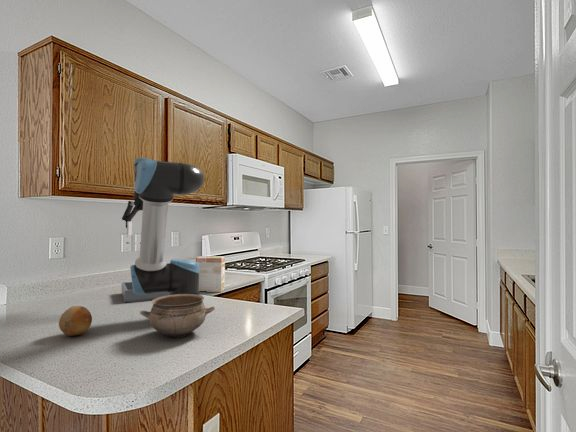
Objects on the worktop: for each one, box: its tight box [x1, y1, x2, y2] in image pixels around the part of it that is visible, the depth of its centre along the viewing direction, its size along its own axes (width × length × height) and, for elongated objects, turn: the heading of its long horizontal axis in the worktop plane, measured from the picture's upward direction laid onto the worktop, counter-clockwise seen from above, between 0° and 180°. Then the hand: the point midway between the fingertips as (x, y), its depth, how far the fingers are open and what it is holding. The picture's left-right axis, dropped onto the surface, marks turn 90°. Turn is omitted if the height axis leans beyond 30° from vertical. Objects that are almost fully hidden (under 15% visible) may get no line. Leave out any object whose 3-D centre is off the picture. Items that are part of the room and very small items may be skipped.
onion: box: [58, 305, 93, 337], centre depth 117 cm, size 10×10×10 cm
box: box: [121, 281, 170, 304], centre depth 180 cm, size 24×24×6 cm
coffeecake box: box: [195, 255, 226, 293], centre depth 193 cm, size 15×7×20 cm, turn 84°
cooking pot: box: [139, 294, 215, 338], centre depth 119 cm, size 25×19×12 cm
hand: (142, 235), depth 163 cm, fingers open, 13 cm apart
